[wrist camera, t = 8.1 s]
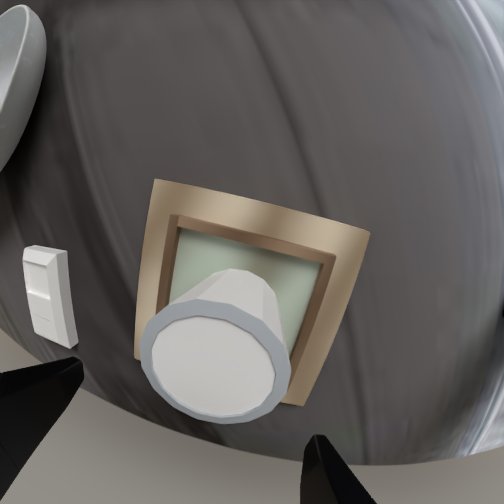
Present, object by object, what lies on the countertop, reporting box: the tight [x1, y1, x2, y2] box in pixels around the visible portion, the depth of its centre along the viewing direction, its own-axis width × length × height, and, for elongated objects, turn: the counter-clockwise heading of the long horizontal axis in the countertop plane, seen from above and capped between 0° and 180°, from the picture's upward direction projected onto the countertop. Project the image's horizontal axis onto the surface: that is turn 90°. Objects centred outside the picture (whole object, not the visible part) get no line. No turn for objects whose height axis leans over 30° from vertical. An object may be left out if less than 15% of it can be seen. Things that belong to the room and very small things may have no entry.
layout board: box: [134, 179, 371, 406], centre depth 18 cm, size 14×14×2 cm
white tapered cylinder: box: [139, 269, 291, 424], centre depth 14 cm, size 7×7×7 cm
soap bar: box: [23, 245, 78, 349], centre depth 20 cm, size 5×9×3 cm, turn 174°
